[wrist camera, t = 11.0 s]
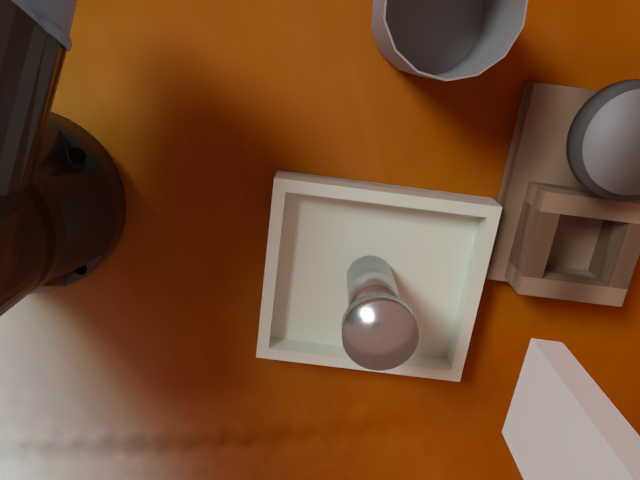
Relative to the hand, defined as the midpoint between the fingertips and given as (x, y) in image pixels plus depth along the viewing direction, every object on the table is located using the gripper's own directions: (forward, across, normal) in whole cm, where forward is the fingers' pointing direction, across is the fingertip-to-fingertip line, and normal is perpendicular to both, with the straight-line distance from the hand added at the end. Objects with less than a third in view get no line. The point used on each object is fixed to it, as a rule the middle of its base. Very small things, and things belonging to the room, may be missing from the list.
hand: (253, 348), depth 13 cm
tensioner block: (+32, +22, 0) cm, 39 cm away
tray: (+32, +7, -10) cm, 35 cm away
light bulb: (+31, +7, -10) cm, 34 cm away
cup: (+33, +8, +11) cm, 35 cm away
